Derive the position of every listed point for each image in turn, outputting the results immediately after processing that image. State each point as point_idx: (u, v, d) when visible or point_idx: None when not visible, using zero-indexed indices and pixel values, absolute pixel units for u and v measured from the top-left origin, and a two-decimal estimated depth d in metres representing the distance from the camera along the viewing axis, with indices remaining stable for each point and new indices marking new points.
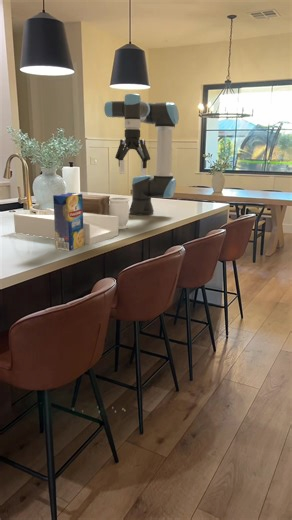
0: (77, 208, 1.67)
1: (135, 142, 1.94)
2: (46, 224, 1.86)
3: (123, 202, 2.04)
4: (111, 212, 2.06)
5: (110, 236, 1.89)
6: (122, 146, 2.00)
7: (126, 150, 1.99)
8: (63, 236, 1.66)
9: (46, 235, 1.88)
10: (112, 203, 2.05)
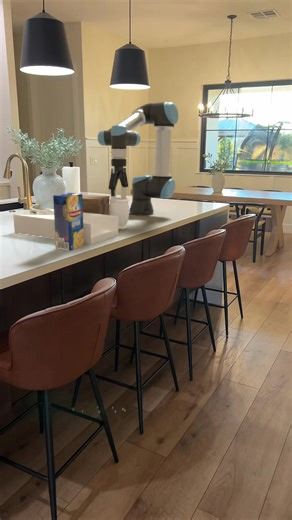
0: (77, 208, 1.67)
1: None
2: (47, 224, 1.86)
3: (123, 202, 2.04)
4: (111, 212, 2.06)
5: (110, 236, 1.90)
6: None
7: (120, 178, 2.08)
8: (63, 236, 1.66)
9: (46, 235, 1.88)
10: (112, 203, 2.05)
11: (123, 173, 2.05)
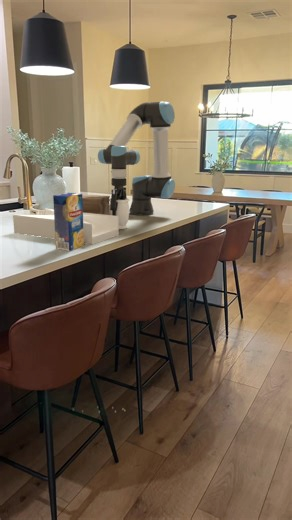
0: (77, 208, 1.67)
1: None
2: (47, 224, 1.86)
3: (123, 202, 2.04)
4: (111, 212, 2.06)
5: (111, 235, 1.90)
6: (122, 193, 2.13)
7: (120, 197, 2.10)
8: (63, 236, 1.66)
9: (47, 235, 1.88)
10: None
11: (123, 192, 2.08)
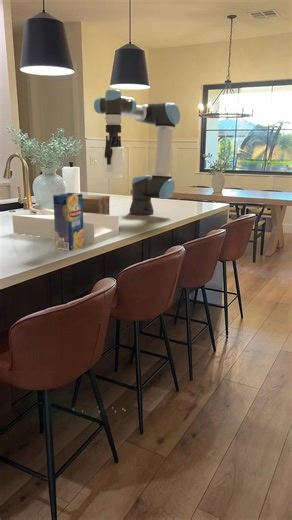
0: (77, 208, 1.67)
1: None
2: (48, 224, 1.86)
3: (118, 149, 1.98)
4: (106, 160, 1.99)
5: (112, 235, 1.91)
6: None
7: (115, 146, 2.04)
8: (63, 236, 1.66)
9: (47, 235, 1.87)
10: None
11: (118, 140, 2.01)
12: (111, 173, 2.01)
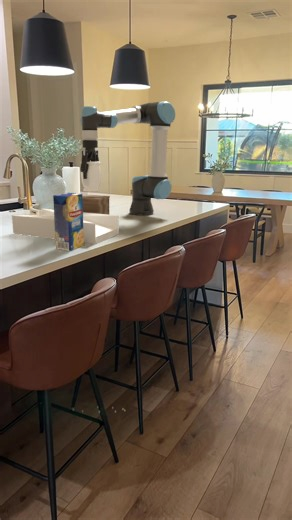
0: (77, 208, 1.67)
1: None
2: (48, 225, 1.86)
3: (94, 164, 2.03)
4: (82, 174, 2.04)
5: (112, 235, 1.92)
6: None
7: (92, 160, 2.09)
8: (63, 236, 1.66)
9: (48, 235, 1.87)
10: None
11: (94, 155, 2.06)
12: (88, 187, 2.06)
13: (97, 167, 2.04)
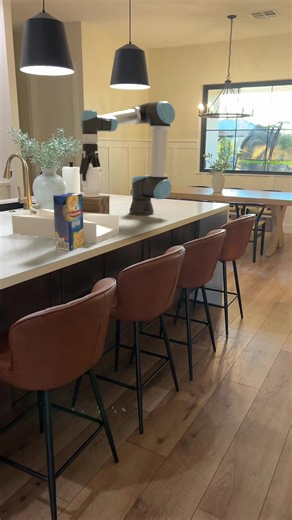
0: (77, 208, 1.67)
1: None
2: (49, 225, 1.86)
3: (95, 170, 2.04)
4: None
5: (112, 235, 1.92)
6: None
7: (92, 163, 2.10)
8: (63, 236, 1.66)
9: (48, 235, 1.87)
10: None
11: (95, 158, 2.07)
12: (88, 192, 2.07)
13: (98, 173, 2.06)
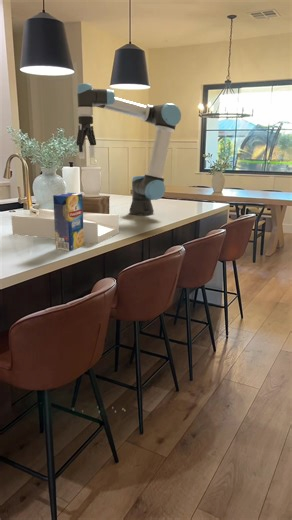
0: (77, 208, 1.67)
1: None
2: (49, 225, 1.85)
3: (95, 170, 2.04)
4: (83, 180, 2.06)
5: (113, 234, 1.93)
6: None
7: (88, 136, 2.19)
8: (63, 236, 1.66)
9: (49, 235, 1.87)
10: (84, 171, 2.05)
11: (90, 131, 2.15)
12: (88, 192, 2.07)
13: (98, 173, 2.06)
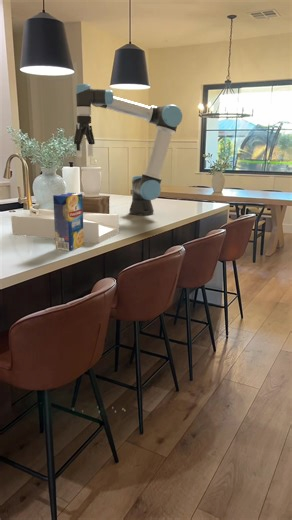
0: (77, 208, 1.67)
1: None
2: (49, 225, 1.85)
3: (95, 170, 2.04)
4: (83, 180, 2.06)
5: (113, 234, 1.93)
6: None
7: (86, 135, 2.24)
8: (63, 236, 1.66)
9: (49, 236, 1.87)
10: (84, 171, 2.05)
11: (88, 130, 2.21)
12: (88, 192, 2.07)
13: (98, 173, 2.06)
